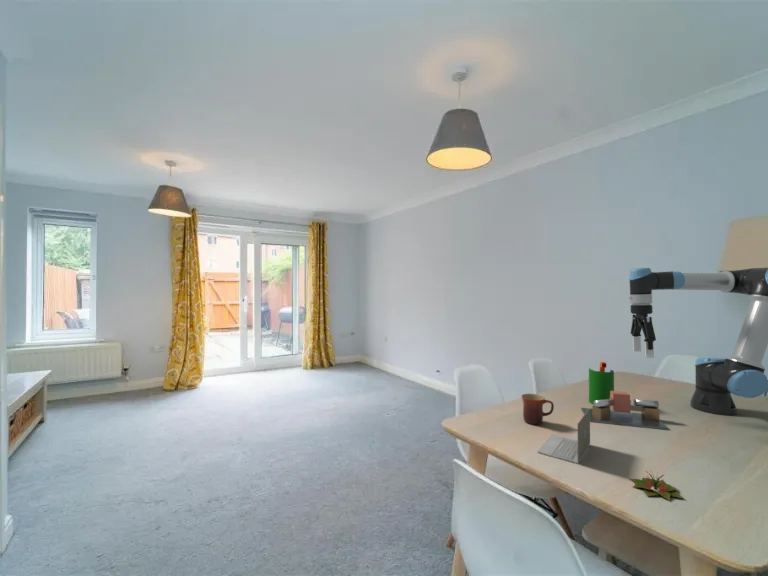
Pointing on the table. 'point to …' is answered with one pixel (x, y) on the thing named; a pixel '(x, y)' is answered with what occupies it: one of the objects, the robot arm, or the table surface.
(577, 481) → the table surface
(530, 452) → the table surface
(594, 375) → the motor
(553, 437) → the laptop
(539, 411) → the mug
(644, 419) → the base plate
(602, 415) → the shaft
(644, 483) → the lily flower
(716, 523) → the table surface
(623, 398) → the block
